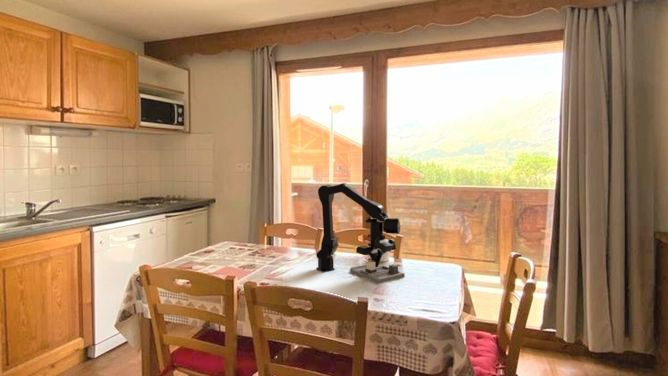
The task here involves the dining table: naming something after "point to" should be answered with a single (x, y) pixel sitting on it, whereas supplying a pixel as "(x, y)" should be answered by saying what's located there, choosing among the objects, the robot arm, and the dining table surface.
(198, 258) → the dining table surface
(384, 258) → the white cup
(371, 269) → the breaker
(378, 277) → the breaker panel
